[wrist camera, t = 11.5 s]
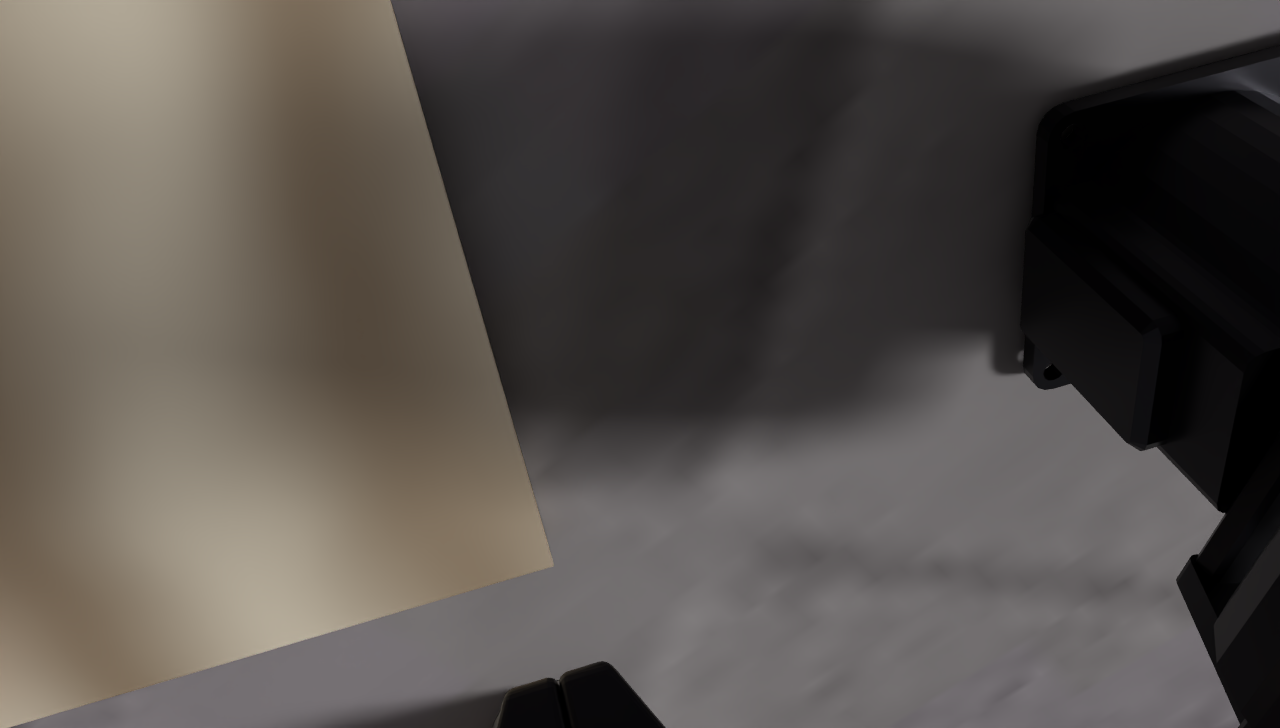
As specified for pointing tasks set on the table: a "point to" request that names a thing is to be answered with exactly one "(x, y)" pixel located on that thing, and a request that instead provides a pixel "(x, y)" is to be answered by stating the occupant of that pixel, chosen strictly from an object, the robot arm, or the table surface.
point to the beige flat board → (230, 346)
